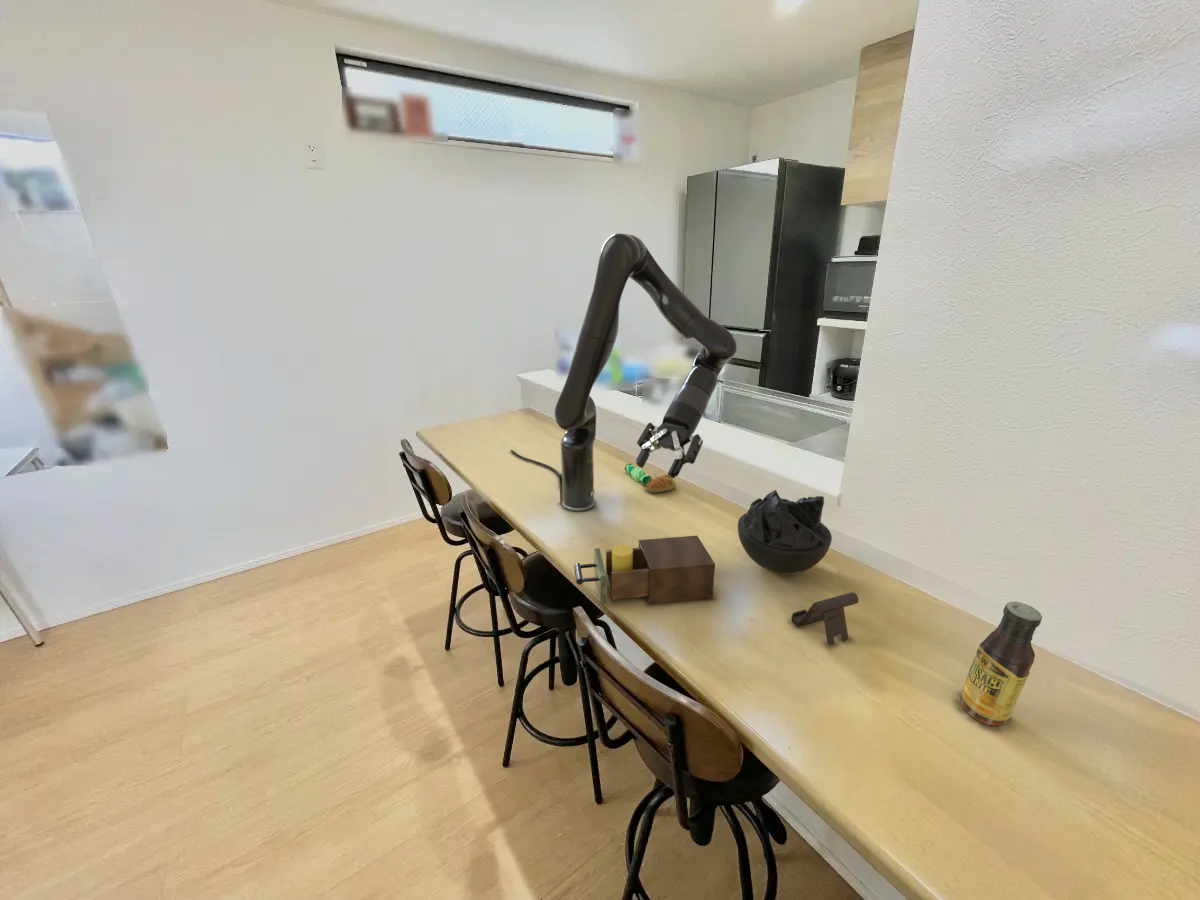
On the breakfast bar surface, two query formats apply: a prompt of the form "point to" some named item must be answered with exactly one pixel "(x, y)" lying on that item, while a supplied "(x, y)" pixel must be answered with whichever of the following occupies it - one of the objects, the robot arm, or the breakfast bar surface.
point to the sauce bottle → (1001, 666)
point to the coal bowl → (785, 533)
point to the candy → (637, 474)
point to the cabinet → (678, 569)
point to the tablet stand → (828, 615)
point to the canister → (622, 558)
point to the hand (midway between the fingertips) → (654, 471)
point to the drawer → (617, 576)
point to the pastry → (660, 484)
